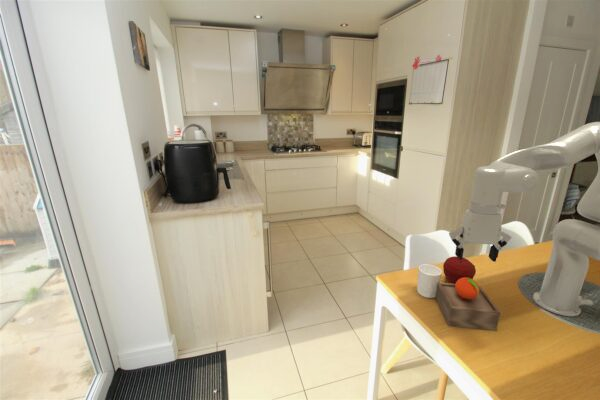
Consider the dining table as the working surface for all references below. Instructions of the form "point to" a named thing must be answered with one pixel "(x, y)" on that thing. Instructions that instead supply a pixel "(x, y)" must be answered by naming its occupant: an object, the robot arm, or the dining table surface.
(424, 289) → the white cup
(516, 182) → the robot arm
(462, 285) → the clementine
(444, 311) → the walnut stand
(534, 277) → the dining table surface
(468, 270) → the apple
